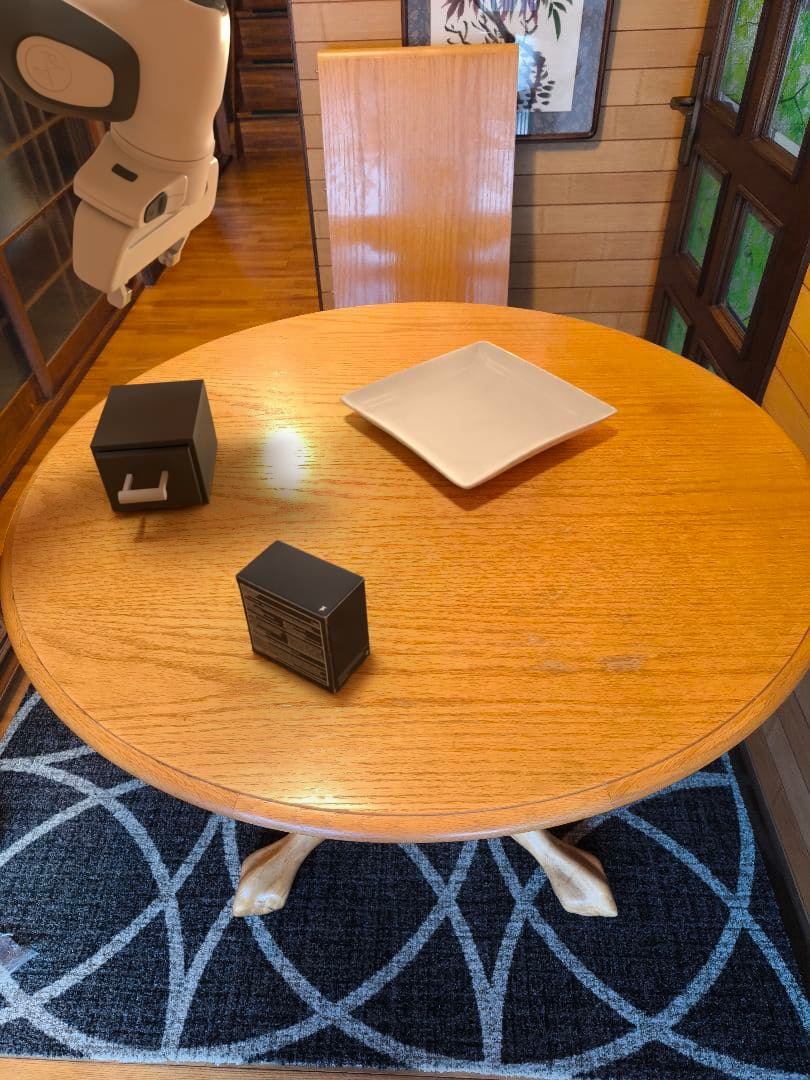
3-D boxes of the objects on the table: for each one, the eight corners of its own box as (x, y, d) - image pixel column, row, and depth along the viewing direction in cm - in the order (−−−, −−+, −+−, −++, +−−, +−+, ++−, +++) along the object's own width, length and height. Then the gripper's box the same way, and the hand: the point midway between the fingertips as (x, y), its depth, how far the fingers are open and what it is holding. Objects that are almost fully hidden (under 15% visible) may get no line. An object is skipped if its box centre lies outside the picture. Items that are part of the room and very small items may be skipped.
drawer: (198, 529, 88) (183, 475, 83) (106, 537, 88) (86, 483, 83) (210, 446, 101) (198, 394, 96) (130, 452, 101) (114, 400, 95)
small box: (374, 651, 75) (369, 575, 68) (335, 697, 71) (325, 621, 64) (291, 610, 80) (277, 535, 73) (249, 651, 76) (231, 575, 69)
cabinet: (209, 503, 93) (193, 438, 87) (112, 511, 93) (89, 446, 86) (217, 441, 104) (203, 378, 97) (130, 448, 103) (111, 385, 96)
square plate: (617, 432, 103) (621, 407, 101) (463, 512, 91) (464, 487, 88) (483, 357, 120) (484, 334, 117) (337, 417, 107) (335, 393, 105)
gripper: (187, 109, 77) (170, 226, 88) (60, 183, 64) (57, 312, 74) (242, 141, 78) (218, 254, 88) (127, 222, 64) (115, 344, 75)
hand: (144, 281), depth 81 cm, fingers open, 8 cm apart
